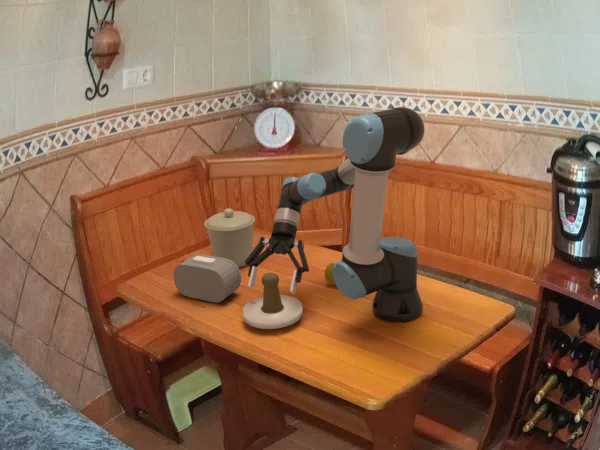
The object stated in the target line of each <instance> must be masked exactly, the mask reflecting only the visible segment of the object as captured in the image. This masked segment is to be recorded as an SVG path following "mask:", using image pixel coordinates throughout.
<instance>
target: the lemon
mask: <svg viewBox="0 0 600 450" xmlns="http://www.w3.org/2000/svg"><path fill="white" fill-rule="evenodd" d="M334 264H335V263H334V262H331V263H329V264H328V265H327V266H326V267H325V270H324V277H325V280H326V282H327V283H329V284H331V285H333V286H335V285H336V283H335V281H334V278H333V273H332V269H333V265H334Z"/></svg>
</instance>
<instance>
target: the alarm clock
mask: <svg viewBox="0 0 600 450" xmlns="http://www.w3.org/2000/svg"><path fill="white" fill-rule="evenodd" d="M173 282H174V285H175V287H176V289H177V290H178V292H179V293H181V294H182V295H183V296H186V297H189V298H192V299H197V300H201V301H204V302H210V303H214V304H218V303H220V302H222V301H224V300H225V299H227V298H228V297H229V296H230V295H232V294H233V293H234V292H235V291H237V290H238V289H239V288H240V287H241V284H242V274H241V270H240V267H239V268H238V266H237V265H236V264H235V263H234V262H233V261H232V260H229V259H225V258H221V257H215V256H213V255H208V254H200V253H199V254H197V253H195V254H193V255H192V256H191V257H189V258H187V259H186V260H185V261H183V262H181V263H180V264H178V265H176V266H175V267H174V269H173Z"/></svg>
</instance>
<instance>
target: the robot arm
mask: <svg viewBox="0 0 600 450" xmlns="http://www.w3.org/2000/svg"><path fill="white" fill-rule="evenodd" d="M424 136H425V123H424V121H423V119H422V117H421V115H420V114H419V113H418V112H416V111H415V110H413V109H411V108H409V107H404V106H403V107H402V106H398V107H394V108H388V109H385V110H381V111H380V110H379V111H374V112H367V113H363V114H361V115H359V116H356V117H354V118H352V119H351V120H350V121H349V122H348V123H347V124H346V126H345V128H344V130H343V134H342V148H343V149H345V150H344V154H345V156H346V157H347V158H346V159H345V160H344V161H343V162H342V163H340V164H339V165H338V166H336V167H334V168H332V169H329V170H325V171H324V170H323V171H321V172H310V173H309V172H308V174H304V175H303V176H301V177H300V178H299V177H295V176H292V177H286V178H285V179H284V180H283V184H282V186H281V189H280V195H279V200H278V204H277V208H276V213H275V215H274V221H273V222H274V223H273V225H272V228H271V229H272V230H271V232H270V233H271V234H270V235H271V236H270V237H269V238H265V236H261V237H260V238H259V241H258V244H257V245H256V246H255V248H253V251H252V253H251V254H250V255H249V256H248V258H247V259H246V260H245V263H246V264H247V265H246V266H248V267H249V268H248V272H247V276H248V277H249V280H248V285H247V287H248V288H249V289H250V290H254V287H255V284H256V279H257V275H258V271H259V270H258V268H257V267H259V266H260V265H261V264H262V263H264V261H266V259H268V258H269V257H270V256H272V255H274V254H275V255H285V256H286V255H288V257H289V258H290V260H291V262H292V263H293V265H294V267H295V268H296V269H294V270H293V275H292V279H291V285H290V287H289V288H290V289H289V292H290V293H291V294H293V295H295V294H296V291H297V287H298V286H297V285H298V284H300V283H301V281H302V275H303V273H305V272H307V273H308V272H309V271H310V267H309V264H308V260H307V257H306V256H307V255H306V253H305V250H304V249H305V243H304V242H303V241H302V239H299V240H297V241H296V237H297V232H298V226H299V223H300V222H299V221H300V218H301V214H302V213H301V212H302V208H303V206H304V205H306V204H307V203H309V202H312V201H314V200H318V199H321V198H323V197H328V196H330V195H331V196H332V195H334V194H338V193H342V192H345V191H346V192H347V191H350V190H352V189H353V193H352V204H351V216H350V226H349V229H350V230H349V238H348V243H347V244H346V245H345V246H344V247H343V249H342V255H341V260H337V262H335V263H334V265H333V269H332V273H333V278H334V281H335V283H336V284H335V285H336V287H337V290H339V291H340V293H342V295H343V296H344V297H346V298H347V299H350V300H357V299H361V298H364V297H366V296H369V295H371V294H373V293H375V295H374V298H373V301H372V304H371V305H372V314H373V315H374V316H375V318H377V319H379V320H380V321H384V322H387V323H396V324H399V323H401V324H402V323H408V322H412V321H415V320H417V319H418V318H420V317H421V316H422V315H423V312H424V310H423V309H424V308H423V306H424V305H423V301H422V299H421V296H420V292H419V290H418V285H417V284H418V280H417V279H418V277H417V276H418V253H417V252H418V251H417V245H416V244H415V242H414V241H412V240H411V239H407V238H404V237H398V236H384V237H382V228H383V222H384V220H383V219H384V212H385V211H384V210H385V202H386V196H387V195H386V194H387V187H388V185H387V184H388V177H389V172H390V171H393V169H395V167H396V158H397V156H402V155H405V154H408V153H409V152H410V151H412V150H413V149H415V148H416V147H418V145H420V144H421V142H422V141H423V139H424ZM268 244H269V245H268ZM267 245H268V246H267ZM266 246H267V247H266ZM265 247H266V248H265ZM294 247H296V249H297V250H298V255H299V257H300V261H301V265H302V266H301V265H300V263H299V261H298V260H297V258H296V256H295V254H294V253H293V251H292V249H294ZM264 249H265V250H264Z"/></svg>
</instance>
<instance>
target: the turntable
mask: <svg viewBox="0 0 600 450" xmlns="http://www.w3.org/2000/svg"><path fill="white" fill-rule="evenodd" d="M280 297H281V302H282V306H283V307H282V309H281V310H280V311H277V312H266V311H264V310H263V295H262V296H259V297H256V298H254V299H251V300H250V301H248V302H247V303H246V304H245V305H244V306H243V308H242V317H243V321H244V322H245V323H246V324H247V325H249V326H250V327H253V328H257V329H260V330H261V329H263V330H273V329H275V330H276V329H281V328H282V329H283V328H285V327H288V326H291V325H293V324H295V323H296V322H298V321H299V320H300V319H301V318H302V316H303V312H304V311H303V304H302V302H301V301H300V300H299V299H298V298H296V297H293V296H290V295H286V294H280Z"/></svg>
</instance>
